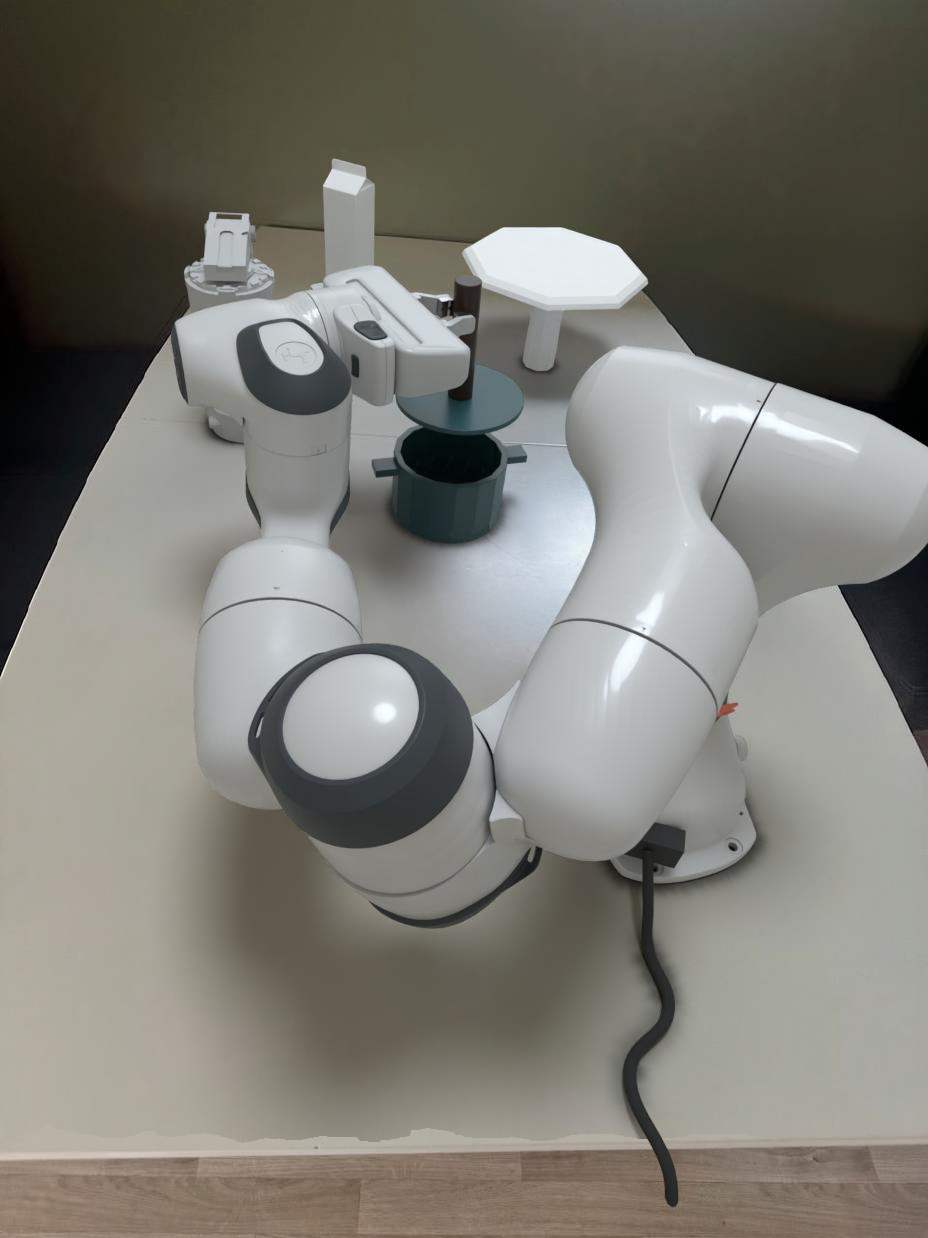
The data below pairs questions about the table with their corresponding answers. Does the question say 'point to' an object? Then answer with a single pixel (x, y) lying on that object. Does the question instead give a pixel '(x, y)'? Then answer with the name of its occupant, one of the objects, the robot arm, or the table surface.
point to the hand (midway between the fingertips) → (462, 312)
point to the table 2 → (553, 279)
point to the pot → (447, 482)
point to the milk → (348, 217)
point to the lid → (468, 385)
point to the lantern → (227, 285)
